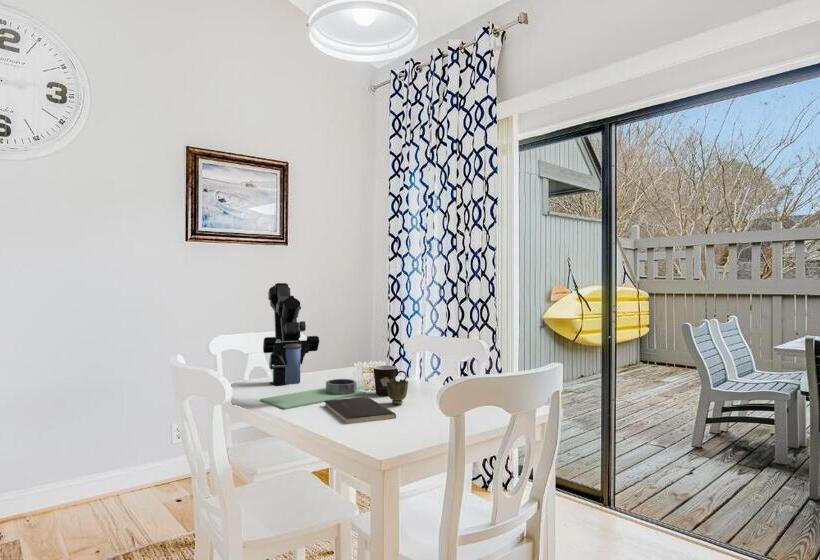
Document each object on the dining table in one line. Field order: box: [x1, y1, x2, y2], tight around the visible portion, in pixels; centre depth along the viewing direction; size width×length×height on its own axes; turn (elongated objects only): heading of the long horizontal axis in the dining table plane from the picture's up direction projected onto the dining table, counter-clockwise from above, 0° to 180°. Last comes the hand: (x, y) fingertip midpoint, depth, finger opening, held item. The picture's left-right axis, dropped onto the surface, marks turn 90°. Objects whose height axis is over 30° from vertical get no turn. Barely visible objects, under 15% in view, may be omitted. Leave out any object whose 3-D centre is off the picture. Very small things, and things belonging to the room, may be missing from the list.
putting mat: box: [259, 387, 367, 410], centre depth 187 cm, size 16×34×1 cm, turn 135°
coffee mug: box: [373, 364, 408, 398], centre depth 192 cm, size 12×9×10 cm
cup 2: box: [387, 378, 409, 406], centre depth 178 cm, size 8×7×8 cm
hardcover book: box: [323, 396, 397, 424], centre depth 168 cm, size 16×23×2 cm
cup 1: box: [325, 378, 358, 395], centre depth 194 cm, size 11×11×4 cm
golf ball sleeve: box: [285, 344, 302, 385], centre depth 178 cm, size 5×5×13 cm
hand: (293, 364), depth 176 cm, fingers closed on golf ball sleeve, 5 cm apart
